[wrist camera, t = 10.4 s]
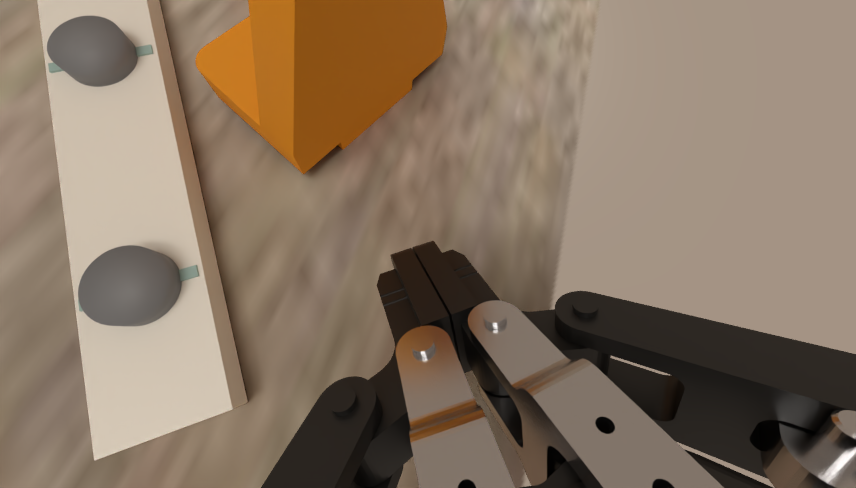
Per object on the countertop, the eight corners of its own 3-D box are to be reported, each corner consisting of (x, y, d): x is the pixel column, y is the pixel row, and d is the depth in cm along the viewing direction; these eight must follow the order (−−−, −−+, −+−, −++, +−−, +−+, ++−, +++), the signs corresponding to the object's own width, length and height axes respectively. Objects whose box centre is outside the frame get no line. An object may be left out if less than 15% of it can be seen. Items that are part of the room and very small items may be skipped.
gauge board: (124, 448, 14) (69, 471, 12) (61, 3, 19) (14, -44, 17) (247, 402, 15) (220, 415, 13) (156, -13, 20) (124, -60, 18)
